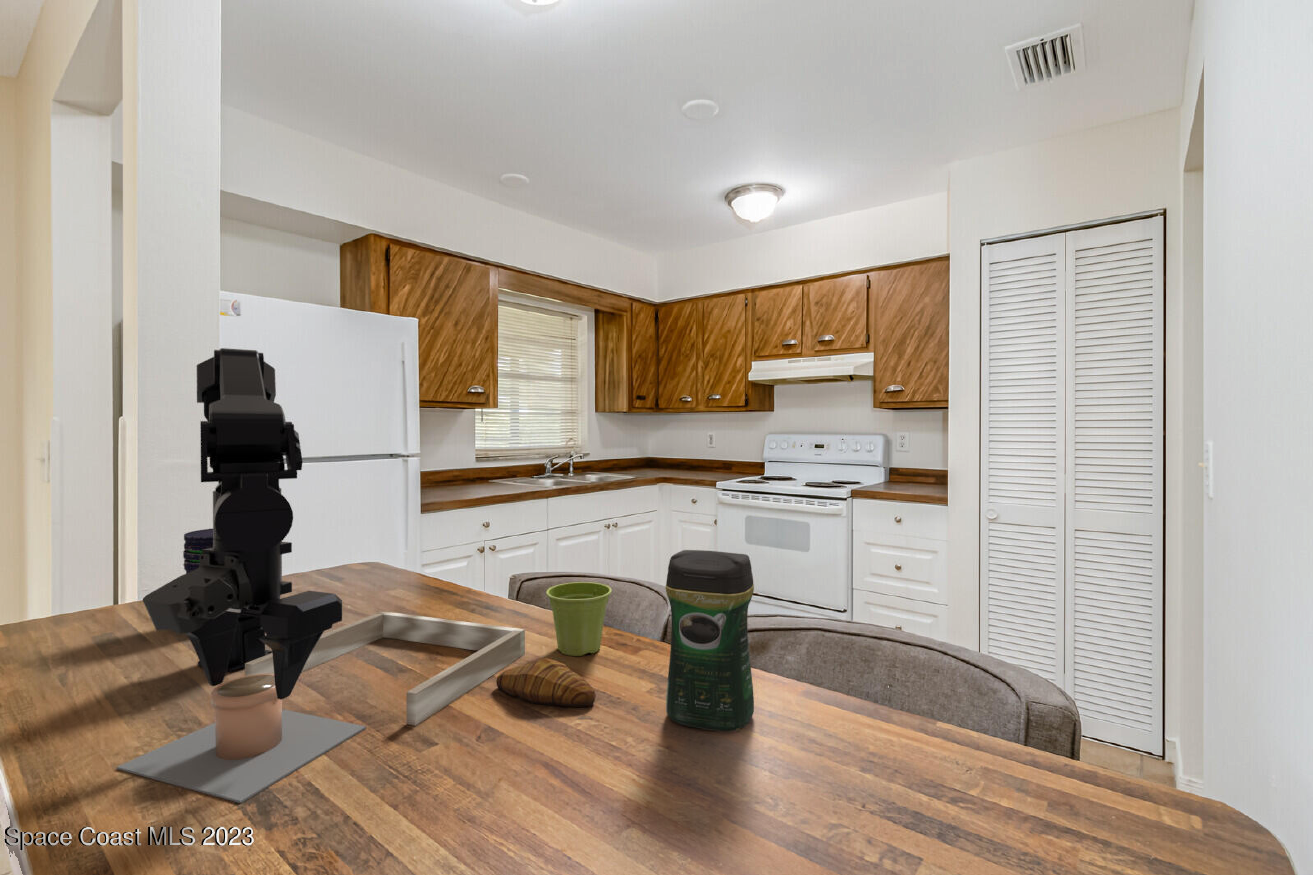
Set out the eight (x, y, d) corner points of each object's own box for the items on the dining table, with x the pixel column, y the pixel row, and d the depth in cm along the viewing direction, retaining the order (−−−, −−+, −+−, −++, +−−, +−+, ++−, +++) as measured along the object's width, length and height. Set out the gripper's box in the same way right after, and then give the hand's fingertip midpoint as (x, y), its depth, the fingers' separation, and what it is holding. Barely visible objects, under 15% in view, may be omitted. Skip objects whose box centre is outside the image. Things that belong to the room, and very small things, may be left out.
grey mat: (116, 768, 58) (116, 766, 58) (256, 705, 72) (256, 703, 72) (240, 803, 53) (240, 801, 53) (366, 728, 66) (366, 726, 66)
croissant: (480, 700, 74) (480, 659, 74) (514, 679, 80) (514, 641, 80) (578, 722, 69) (578, 677, 69) (607, 697, 75) (607, 656, 75)
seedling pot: (196, 754, 60) (195, 693, 60) (256, 725, 66) (255, 669, 66) (242, 766, 58) (241, 702, 58) (299, 735, 64) (299, 677, 64)
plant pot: (600, 664, 85) (601, 600, 85) (536, 658, 87) (536, 596, 86) (618, 641, 94) (618, 583, 94) (559, 636, 96) (559, 580, 96)
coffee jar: (759, 709, 71) (761, 548, 71) (743, 741, 64) (745, 562, 64) (680, 695, 75) (681, 542, 75) (656, 724, 68) (657, 554, 67)
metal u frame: (245, 692, 75) (244, 663, 75) (382, 633, 96) (382, 611, 96) (415, 725, 67) (415, 693, 67) (524, 653, 88) (525, 629, 88)
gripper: (91, 544, 57) (93, 711, 58) (238, 559, 51) (239, 746, 51) (212, 525, 68) (213, 667, 68) (346, 536, 62) (346, 692, 62)
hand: (249, 691), depth 62 cm, fingers open, 9 cm apart
